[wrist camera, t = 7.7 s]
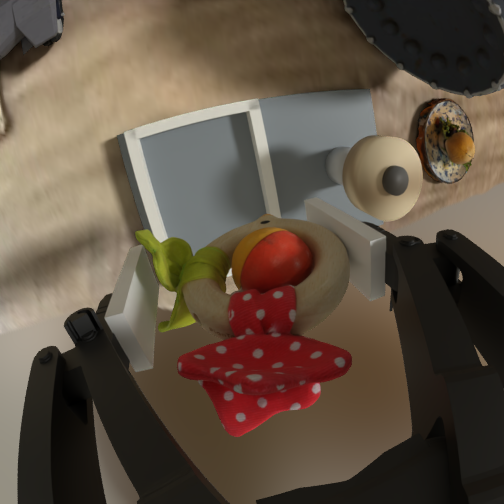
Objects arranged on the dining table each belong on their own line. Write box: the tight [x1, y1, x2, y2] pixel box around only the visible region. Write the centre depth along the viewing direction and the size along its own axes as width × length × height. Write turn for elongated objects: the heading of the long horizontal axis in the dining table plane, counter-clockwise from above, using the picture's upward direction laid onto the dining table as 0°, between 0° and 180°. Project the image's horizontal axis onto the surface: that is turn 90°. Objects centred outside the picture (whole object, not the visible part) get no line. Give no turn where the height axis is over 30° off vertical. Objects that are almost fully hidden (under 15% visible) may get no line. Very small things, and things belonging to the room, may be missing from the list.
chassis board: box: [117, 89, 383, 277], centre depth 27 cm, size 16×26×4 cm, turn 102°
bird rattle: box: [135, 214, 352, 437], centre depth 12 cm, size 6×11×9 cm
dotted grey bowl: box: [343, 0, 504, 98], centre depth 15 cm, size 11×20×20 cm, turn 51°
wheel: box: [342, 135, 423, 221], centre depth 22 cm, size 7×7×3 cm
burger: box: [416, 98, 475, 184], centre depth 29 cm, size 12×12×8 cm
